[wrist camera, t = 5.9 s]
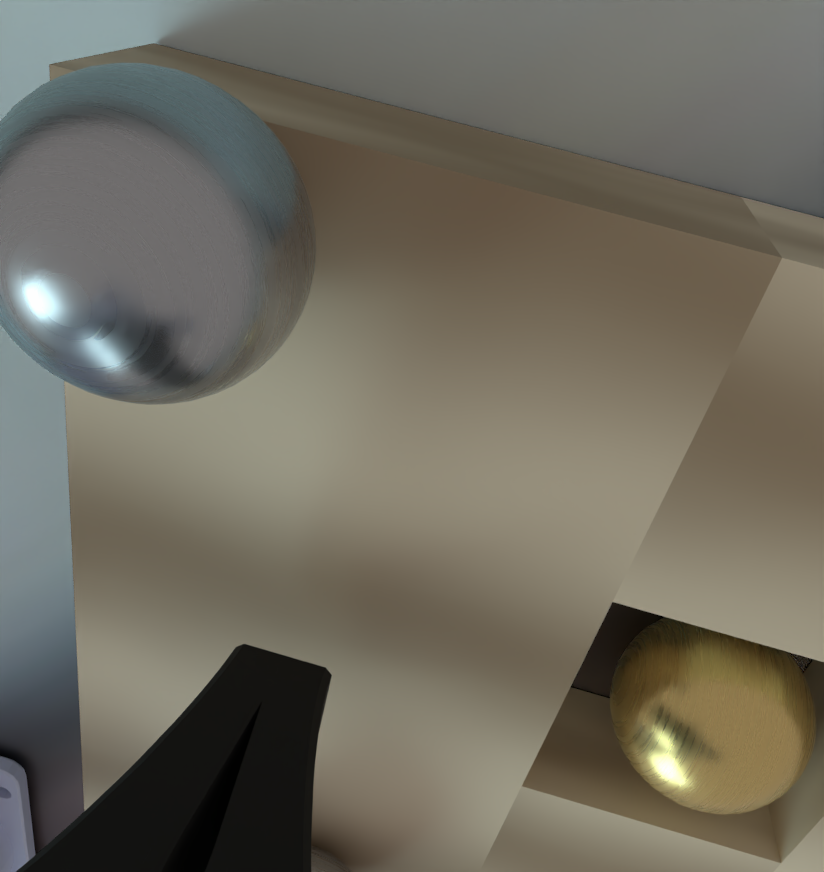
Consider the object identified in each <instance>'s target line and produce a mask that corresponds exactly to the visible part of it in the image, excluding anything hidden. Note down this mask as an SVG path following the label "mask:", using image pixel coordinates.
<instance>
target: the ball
mask: <svg viewBox="0 0 824 872" xmlns="http://www.w3.org/2000/svg"><path fill="white" fill-rule="evenodd" d="M610 709H611V717H612V723H613V726H614V730H615V733H616V736H617V739H618V741H619V743H620V746H621V748H622V750H623V752H624V754H625V755H626V757H627V758H628V760H629V762H630V763H631V765H632V766H633V767H634V769H635V770H636V771H637V772H638V774H639V775H640V776H641V777H642V778H643V779H644V780H645V781H646V782H647V783H648V784H650V785H651V786H652V787H653V788H654V789H655V790H657V791H658V792H659V793H661V794H662V795H663V796H665V797H667V798H669V799H671V800H672V801H674V802H676V803H678V804H680V805H682V806H685V807H687V808H690V809H693V810H697V811H701V812H705V813H711V814H721V815H726V814H740V813H745V812H750V811H754V810H756V809H759V808H761V807H764V806H766V805H769V804H771V803H772V802H774V801H775V800H777V799H778V798H780V797H781V796H783V795H784V794H785V793H786V792H787V791H788V790H789V789H790V788H791V787H792V786H793V785H794V784H795V783H796V782H797V781H798V780H799V778H800V777H801V775H802V774H803V772H804V770H805V768H806V766H807V764H808V762H809V760H810V757H811V755H812V751H813V748H814V743H815V737H816V714H815V707H814V701H813V697H812V694H811V691H810V689H809V686H808V683H807V681H806V679H805V677H804V675H803V673H802V671H801V669H800V668H799V666H798V664H797V663H796V662H795V660H794V659H793V658H792V656H791V655H790V654H789V653H788V652H786V651H783V650H779V649H776V648H772V647H769V646H765V645H762V644H758V643H755V642H751V641H748V640H744V639H741V638H737V637H734V636H730V635H727V634H723V633H720V632H716V631H713V630H709V629H706V628H702V627H699V626H695V625H692V624H688V623H685V622H681V621H678V620H674V619H671V618H667V617H665V618H662V619H660V620H658V621H656V622H654V623H652V624H651V625H649V626H648V627H647V628H645V629H644V630H642V631H641V632H640V633H639V634H638V635H637V636H636V637H635V638H634V639H633V640H632V641H631V642H630V643H629V645H628V646H627V648H626V649H625V651H624V652H623V654H622V655H621V657H620V659H619V661H618V664H617V666H616V669H615V672H614V675H613V679H612V684H611V693H610Z"/></svg>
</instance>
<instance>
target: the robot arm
mask: <svg viewBox="0 0 824 872" xmlns="http://www.w3.org/2000/svg"><path fill="white" fill-rule="evenodd" d="M331 677H332V675H331V673H330V672H329V671H328V670H327V668H326V667H322V666H319V665H316V664H312V663H309V662H305V661H302V660H298V659H295V658H292V657H288V656H285V655H281V654H278V653H274V652H271V651H268V650H264V649H261V648H257V647H254V646H250V645H247V644H242V645H240V646H237V647H235V649H234V650H233V652H232V653H231V654H230V656H229V657H228V658H227V660H226V661H225V663H224V664H223V665H222V666H221V668H220V669H219V670H218V671H217V673H216V674H215V675H214V676H213V678H212V679H211V680H210V681H209V683H208V684H207V685H206V686H205V687H204V689H203V690H202V691H201V692H200V693H199V694H198V696H197V697H196V698H195V699H194V700H193V701H192V703H191V704H190V705H189V706H188V707H187V708H186V709H185V710H184V712H183V713H182V714H181V715H180V716H179V717H178V718H177V719H176V721H175V722H174V723H173V724H172V725H171V726H170V727H169V728H168V729H167V730H166V731H165V732H164V733H163V734H162V735H161V736H160V737H159V738H158V739H157V741H156V742H155V743H154V744H153V745H152V746H151V747H150V748H149V749H148V750H147V751H146V752H145V753H144V754H143V755H142V756H141V757H140V758H139V759H138V760H137V761H136V762H135V763H134V764H133V765H132V766H131V767H130V768H129V769H128V770H127V771H126V772H125V773H124V774H123V775H122V776H121V777H120V778H119V779H118V780H117V781H116V782H115V783H114V784H113V785H112V786H111V787H110V788H109V789H108V790H107V791H105V792H104V793H103V794H102V795H101V796H100V797H99V798H98V799H97V800H96V801H95V802H94V803H93V804H92V805H91V806H90V807H89V808H88V809H86V810H85V811H84V812H83V813H82V814H81V815H80V816H79V817H78V818H77V819H76V820H75V821H74V822H73V823H71V824H70V825H69V826H68V827H67V828H66V829H65V830H64V831H63V832H61V833H60V834H59V835H58V836H57V837H56V838H55V839H53V840H52V841H51V842H50V843H49V844H48V845H47V846H45V847H44V848H43V849H42V850H41V851H40V852H39V853H37V854H36V855H35V846H34V838H33V829H32V820H31V812H30V803H29V794H28V786H27V777H26V773H25V770H24V768H23V767H22V766H21V765H20V764H18V763H17V762H15V761H14V760H11V759H9V758H6V757H2V756H0V872H311V834H312V808H313V784H314V770H315V759H316V750H317V742H318V734H319V730H320V725H321V721H322V716H323V712H324V708H325V703H326V699H327V695H328V690H329V686H330V682H331Z"/></svg>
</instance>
